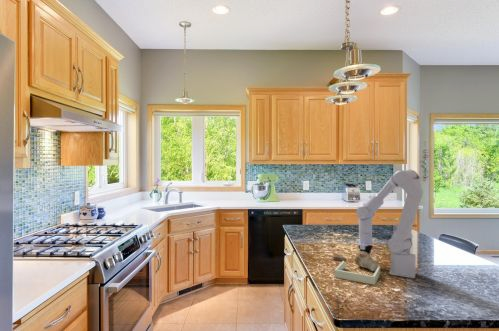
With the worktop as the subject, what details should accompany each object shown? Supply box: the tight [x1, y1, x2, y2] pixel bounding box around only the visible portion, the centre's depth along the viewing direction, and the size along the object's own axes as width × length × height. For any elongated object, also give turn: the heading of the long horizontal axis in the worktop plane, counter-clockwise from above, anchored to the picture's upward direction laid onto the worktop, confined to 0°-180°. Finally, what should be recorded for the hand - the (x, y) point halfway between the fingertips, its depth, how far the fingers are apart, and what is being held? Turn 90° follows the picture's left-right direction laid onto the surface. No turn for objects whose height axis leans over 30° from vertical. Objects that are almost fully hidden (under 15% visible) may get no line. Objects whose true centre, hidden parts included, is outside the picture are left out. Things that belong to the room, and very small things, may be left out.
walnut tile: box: [332, 253, 345, 262], centre depth 145 cm, size 5×5×2 cm
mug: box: [354, 250, 379, 272], centre depth 132 cm, size 8×10×10 cm
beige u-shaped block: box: [333, 260, 381, 286], centre depth 124 cm, size 16×13×3 cm
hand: (365, 261), depth 138 cm, fingers closed
